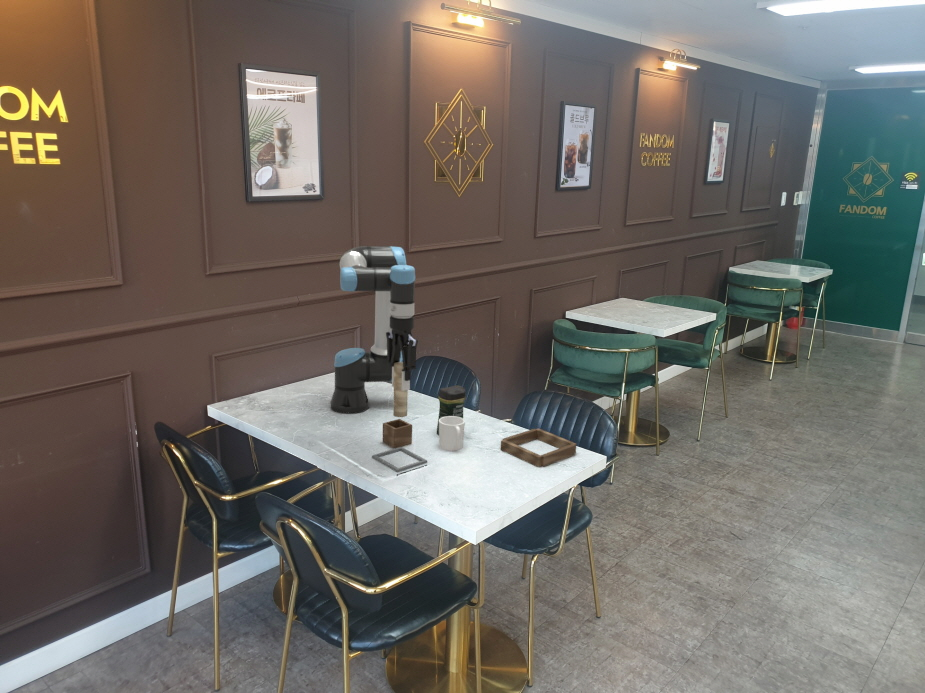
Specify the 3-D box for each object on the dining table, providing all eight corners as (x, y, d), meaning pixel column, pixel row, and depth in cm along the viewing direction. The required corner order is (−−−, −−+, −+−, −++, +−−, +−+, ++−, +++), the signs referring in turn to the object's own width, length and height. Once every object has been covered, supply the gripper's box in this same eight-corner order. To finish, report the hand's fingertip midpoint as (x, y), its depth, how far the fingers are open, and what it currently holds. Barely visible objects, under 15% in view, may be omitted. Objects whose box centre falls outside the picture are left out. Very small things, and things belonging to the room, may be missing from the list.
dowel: (390, 414, 226) (391, 363, 222) (401, 411, 229) (402, 361, 225) (398, 418, 223) (399, 366, 219) (409, 415, 226) (410, 364, 222)
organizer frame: (498, 449, 245) (499, 439, 244) (536, 436, 257) (536, 427, 256) (540, 468, 231) (540, 458, 230) (577, 453, 243) (578, 444, 243)
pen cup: (382, 444, 244) (382, 423, 242) (399, 440, 249) (399, 418, 247) (394, 451, 239) (395, 429, 237) (411, 446, 244) (412, 424, 242)
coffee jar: (446, 442, 249) (448, 392, 244) (433, 435, 255) (434, 386, 250) (467, 436, 255) (469, 387, 250) (454, 429, 261) (455, 381, 256)
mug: (434, 445, 246) (434, 417, 243) (457, 442, 249) (458, 414, 247) (445, 457, 236) (446, 428, 233) (470, 454, 239) (471, 425, 237)
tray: (371, 460, 231) (371, 455, 231) (401, 451, 239) (401, 446, 239) (397, 475, 221) (397, 470, 221) (427, 465, 229) (427, 460, 229)
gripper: (375, 312, 222) (375, 383, 228) (409, 322, 209) (408, 397, 215) (394, 309, 227) (393, 379, 232) (429, 319, 214) (427, 392, 220)
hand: (400, 387), depth 224 cm, fingers closed on dowel, 4 cm apart
